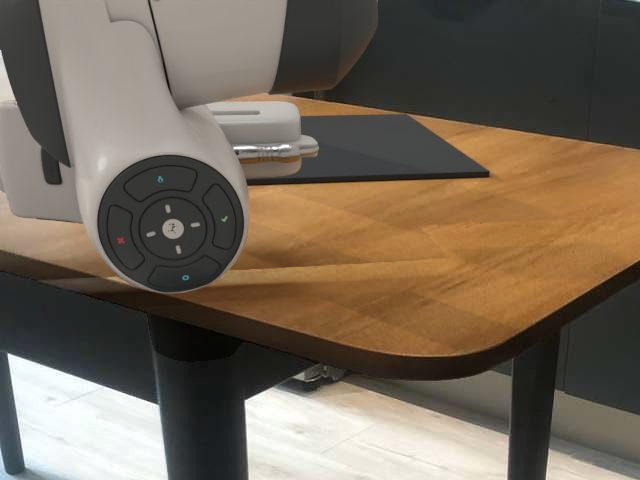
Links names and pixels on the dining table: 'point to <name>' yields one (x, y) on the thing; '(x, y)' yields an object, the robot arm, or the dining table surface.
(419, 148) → the mat
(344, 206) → the dining table surface
